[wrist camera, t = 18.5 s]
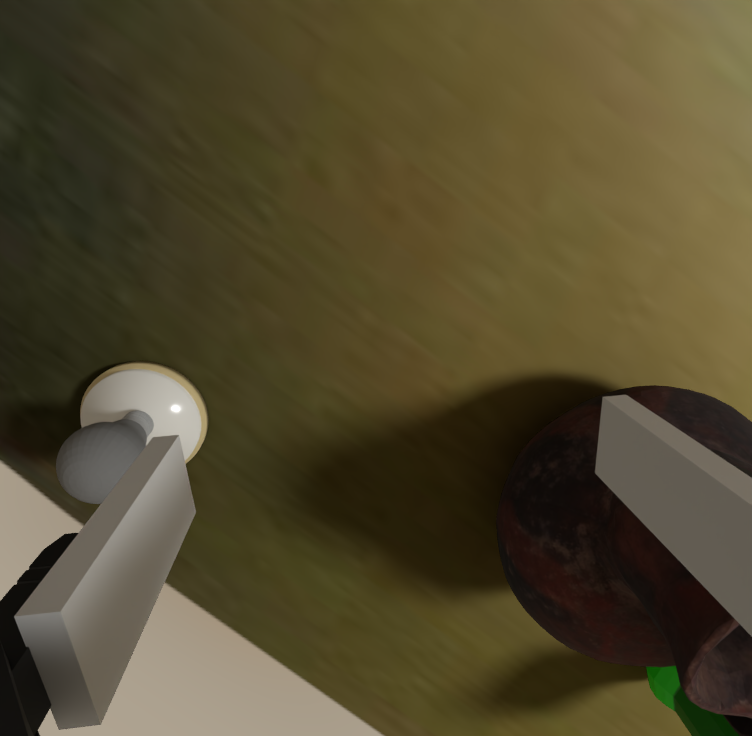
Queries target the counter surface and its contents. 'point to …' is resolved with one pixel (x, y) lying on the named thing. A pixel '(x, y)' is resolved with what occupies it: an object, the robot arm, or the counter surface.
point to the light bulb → (101, 455)
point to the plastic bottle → (686, 704)
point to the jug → (623, 555)
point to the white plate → (149, 402)
